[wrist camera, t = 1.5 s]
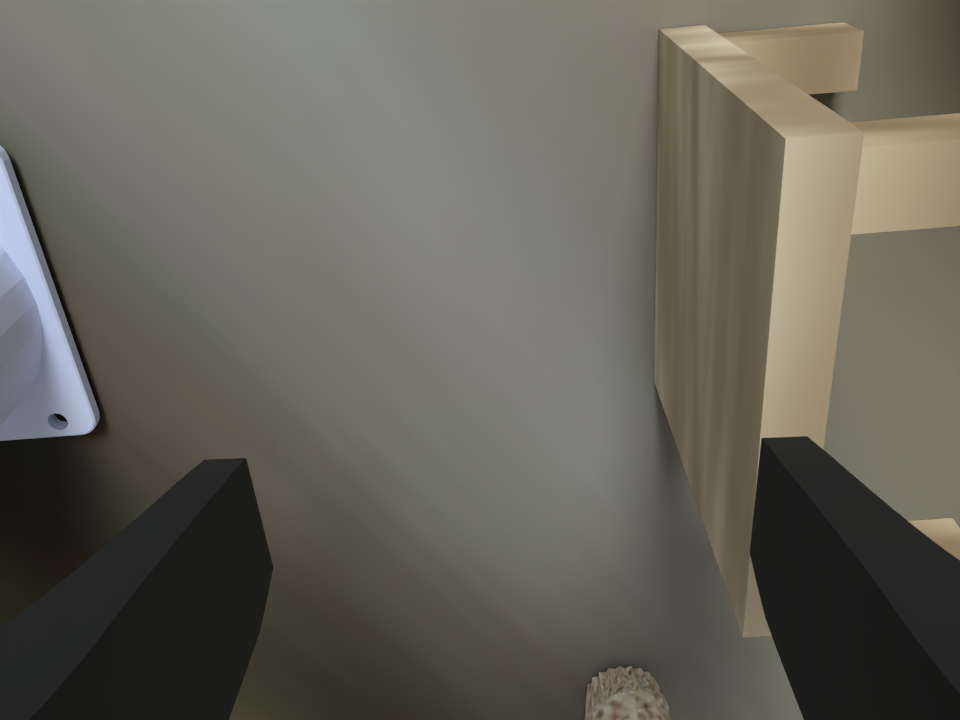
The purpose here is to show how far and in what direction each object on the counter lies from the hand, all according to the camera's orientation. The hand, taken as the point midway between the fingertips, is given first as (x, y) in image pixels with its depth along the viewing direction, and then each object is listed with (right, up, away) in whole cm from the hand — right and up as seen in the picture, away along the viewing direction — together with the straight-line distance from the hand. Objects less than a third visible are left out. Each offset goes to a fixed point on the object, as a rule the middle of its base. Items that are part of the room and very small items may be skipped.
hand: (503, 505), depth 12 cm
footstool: (+6, +6, +9) cm, 12 cm away
